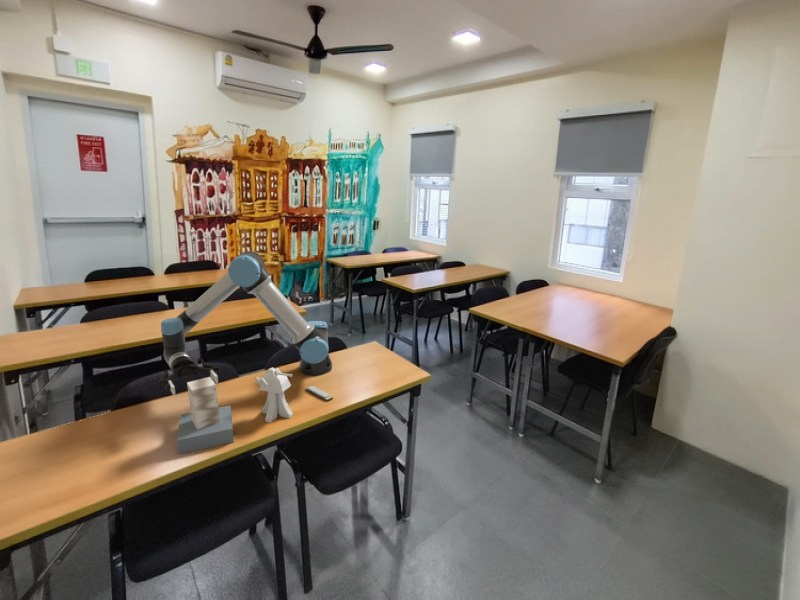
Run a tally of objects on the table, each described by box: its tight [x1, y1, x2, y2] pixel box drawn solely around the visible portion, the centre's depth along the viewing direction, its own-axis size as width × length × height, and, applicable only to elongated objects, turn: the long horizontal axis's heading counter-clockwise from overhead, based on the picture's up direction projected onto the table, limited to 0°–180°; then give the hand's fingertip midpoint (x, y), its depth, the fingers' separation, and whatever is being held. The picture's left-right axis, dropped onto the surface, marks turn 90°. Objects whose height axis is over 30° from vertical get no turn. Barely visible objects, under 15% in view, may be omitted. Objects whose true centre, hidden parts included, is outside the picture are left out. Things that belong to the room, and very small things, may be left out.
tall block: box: [186, 376, 220, 430], centre depth 130 cm, size 7×7×14 cm
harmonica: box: [305, 385, 334, 403], centre depth 161 cm, size 15×3×2 cm, turn 49°
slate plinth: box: [176, 405, 235, 455], centre depth 132 cm, size 16×16×5 cm
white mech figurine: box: [254, 366, 294, 423], centre depth 144 cm, size 12×13×18 cm
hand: (196, 385), depth 135 cm, fingers open, 13 cm apart
